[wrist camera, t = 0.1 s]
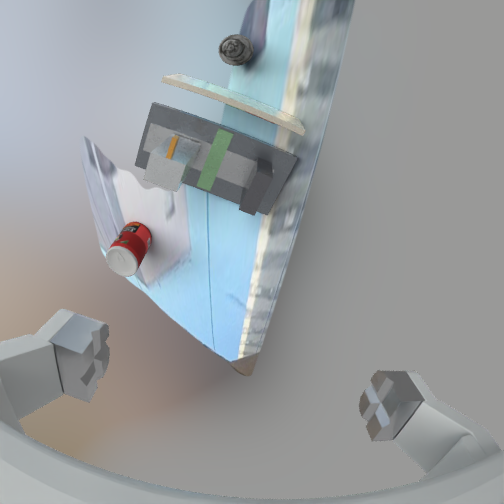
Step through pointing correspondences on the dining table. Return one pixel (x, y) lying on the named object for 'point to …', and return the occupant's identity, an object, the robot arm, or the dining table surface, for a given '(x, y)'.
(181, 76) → the base
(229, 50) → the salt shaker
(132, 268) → the canned food
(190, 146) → the brushed steel slab
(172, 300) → the dining table surface
